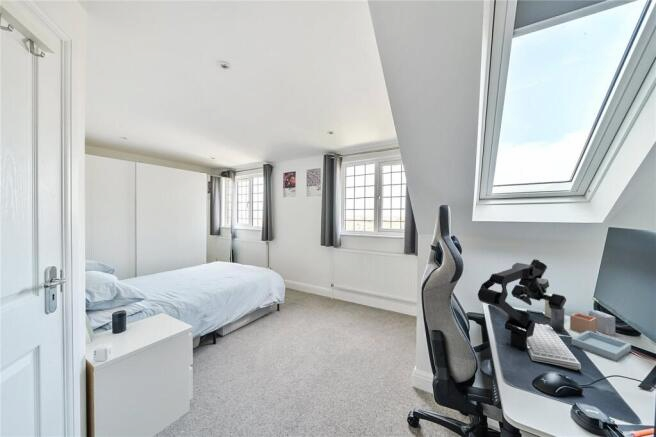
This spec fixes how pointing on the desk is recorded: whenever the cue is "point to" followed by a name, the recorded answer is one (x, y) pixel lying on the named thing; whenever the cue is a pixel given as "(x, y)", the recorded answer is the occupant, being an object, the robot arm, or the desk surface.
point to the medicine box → (604, 322)
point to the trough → (601, 345)
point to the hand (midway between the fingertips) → (542, 308)
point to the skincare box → (547, 308)
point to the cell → (557, 320)
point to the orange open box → (582, 323)
